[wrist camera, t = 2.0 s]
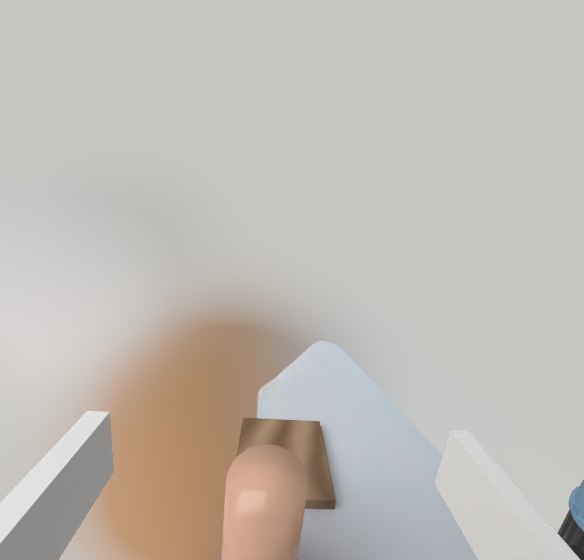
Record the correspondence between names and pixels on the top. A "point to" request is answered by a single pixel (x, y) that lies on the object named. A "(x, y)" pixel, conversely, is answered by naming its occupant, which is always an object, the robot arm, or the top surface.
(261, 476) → the terracotta canister
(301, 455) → the cutting board
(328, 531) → the top surface
